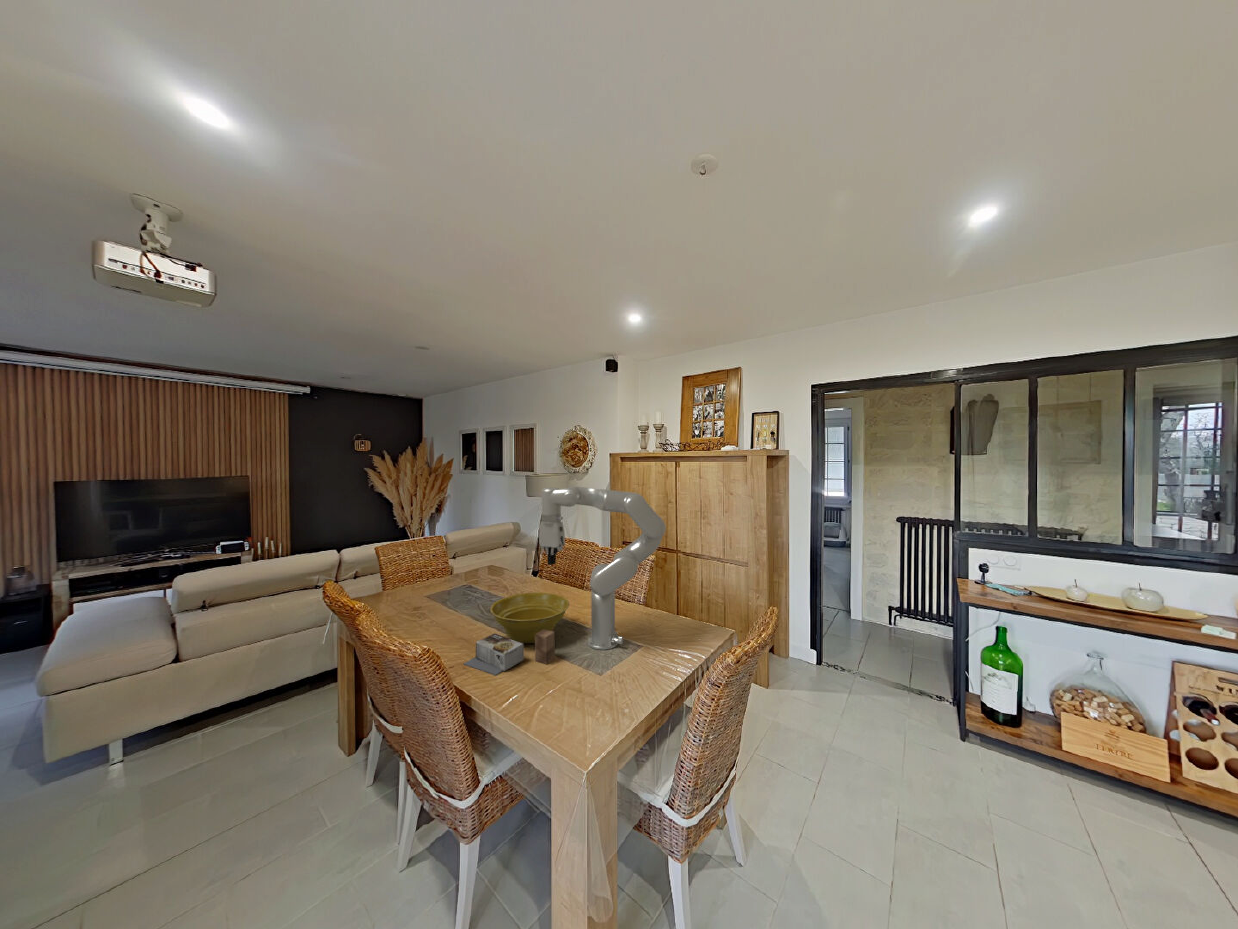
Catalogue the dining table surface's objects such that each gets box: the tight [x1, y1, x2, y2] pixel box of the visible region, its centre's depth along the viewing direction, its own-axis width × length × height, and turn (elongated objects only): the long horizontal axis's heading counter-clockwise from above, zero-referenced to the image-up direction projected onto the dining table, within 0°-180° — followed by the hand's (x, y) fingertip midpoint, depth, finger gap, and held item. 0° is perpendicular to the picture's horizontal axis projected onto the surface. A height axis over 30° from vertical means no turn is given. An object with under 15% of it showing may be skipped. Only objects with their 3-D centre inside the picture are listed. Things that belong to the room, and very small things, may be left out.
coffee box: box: [475, 633, 525, 672], centre depth 148 cm, size 9×6×16 cm
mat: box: [463, 656, 505, 676], centre depth 147 cm, size 16×12×1 cm
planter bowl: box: [490, 592, 570, 644], centre depth 169 cm, size 32×32×13 cm
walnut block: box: [534, 630, 556, 665], centre depth 149 cm, size 5×5×10 cm
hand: (551, 564), depth 162 cm, fingers closed
